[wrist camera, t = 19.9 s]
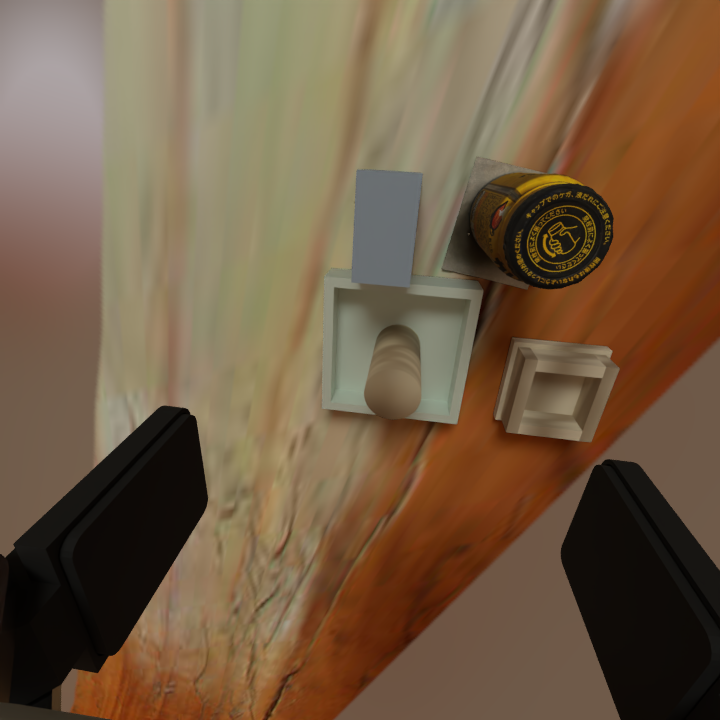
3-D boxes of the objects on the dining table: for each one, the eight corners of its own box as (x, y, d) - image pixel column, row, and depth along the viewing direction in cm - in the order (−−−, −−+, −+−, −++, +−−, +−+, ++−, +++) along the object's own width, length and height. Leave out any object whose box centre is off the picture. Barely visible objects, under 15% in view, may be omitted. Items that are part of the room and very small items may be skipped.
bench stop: (421, 172, 30) (422, 174, 24) (410, 265, 33) (409, 287, 27) (368, 169, 30) (356, 169, 24) (363, 261, 34) (351, 282, 27)
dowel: (422, 326, 35) (424, 372, 27) (417, 367, 36) (418, 422, 28) (377, 322, 35) (365, 367, 27) (374, 363, 37) (362, 416, 29)
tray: (478, 280, 33) (483, 290, 30) (454, 406, 39) (456, 424, 36) (331, 267, 34) (324, 276, 31) (328, 392, 40) (321, 408, 37)
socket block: (607, 346, 34) (626, 364, 31) (579, 423, 38) (594, 446, 35) (511, 337, 35) (521, 353, 32) (493, 413, 38) (500, 435, 35)
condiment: (572, 179, 29) (664, 186, 18) (526, 289, 33) (580, 347, 22) (476, 156, 29) (511, 149, 19) (441, 267, 33) (453, 315, 22)
